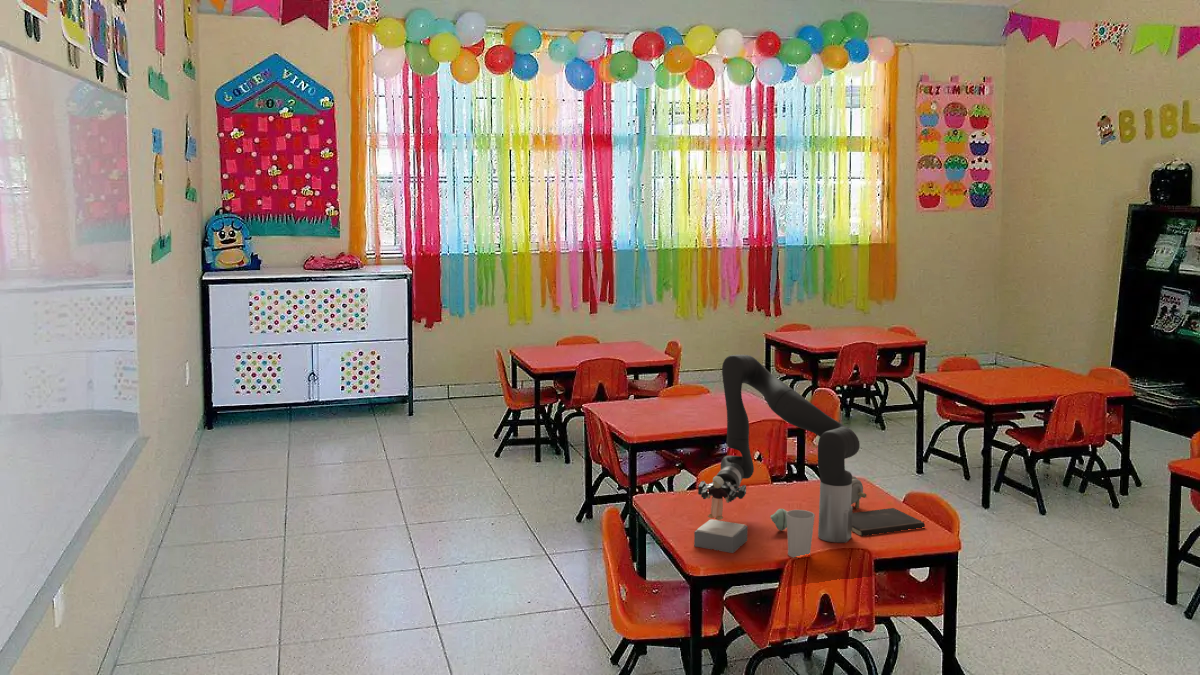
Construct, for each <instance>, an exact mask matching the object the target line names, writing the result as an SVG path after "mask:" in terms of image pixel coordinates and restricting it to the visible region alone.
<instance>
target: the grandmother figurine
mask: <svg viewBox="0 0 1200 675" xmlns="http://www.w3.org/2000/svg"><path fill="white" fill-rule="evenodd" d="M712 482H713V485H714V487H713V488H711V489H710V491H709V492H708V496H707V498H706V499H709V500H710V499H711V507H710V513H709V514H708V515H707V517H708V518H709V519H713V518H714V520H719V521H722V520H723V519H724V516H723V510H724V503H723V499H725V503H728V504H729V503H730V502H729V497H728V494H727V493H726V492H725V491H724V490H723V489H722V488H720V487H721V486H722V485H723V484H724V481H723V479H722V478H721V477H720V476H716V475H715V476H714V477H713V478H712ZM711 495H712V496H711Z"/></svg>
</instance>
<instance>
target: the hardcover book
mask: <svg viewBox="0 0 1200 675" xmlns="http://www.w3.org/2000/svg"><path fill="white" fill-rule="evenodd" d="M922 527H925V528H926V525H925V522H924V521H921V520H920V519H918V518H916V517H913V516H911V515H910V514H907V513H905V512H903V511H901V510H899V509H897V508H895V507H889V508H883V509H873V510H866V511H865V510H864V511H857V512H853V513H852V532H853V533H855V534H857V535H858V536H860V535H861V536H860V537H866V536H867V535H869V536H873V535H872V534H877V535H880V534H879V533H884V534H888V533H887V532H892V533H895V532H894V531H900V532H902V531H901V530H908V529H915V530H917V529H916V528H922ZM908 531H909V530H908ZM867 537H868V536H867Z"/></svg>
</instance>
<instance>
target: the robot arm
mask: <svg viewBox="0 0 1200 675" xmlns="http://www.w3.org/2000/svg"><path fill="white" fill-rule="evenodd" d="M721 373H722V375H721V376H722V383H723V391H724V392H723V393H724V399H725V407H726V422H727V423H726V446H727V447H728V448H729V449H732V450H737V451H738V452H739V453H740V454H741V456H739V455H725V456H724V457H723V458H721V462H720V470H719V472H718V473H717V474H716V475H715V476H720V477H721V478H722V479H723V481H724V484H723V485H722V486H721V487H720V488H722V489H723V490H724V491H725V492H726V493H727V494H728V498H729V503H732V501H733V502H734V500H736V499H737V498H738V500H739V499H740V500H741V499H744V497H745V495H746V494H747V485H745V484H743V485H741V482H742V480H743V479H744V480H745V479H750V478H751V477H752V476H753V474H754V471H755V470H754V469H755V467H754V462H753V459H752V454H751V450H750V442H749V441H750V440H749V439H750V420H749V416H748V414H747V411H746V408H745V405H744V402H743V397H742V389H743V384H747V385H748V386H750V387H752V388H753V389H755V390H756V391H758V392H759V393H760V394H761V395H762V396H763V397H764V400H765V401H766V403H767V406H768V407H769V408H770V409H771V411H772V412H774V413H775V415H777V416H778V417H780V418H781V419H782V420H784V422H786V423H788V424H789V425H792V426H795V427H797V428H800V429H802V430H805V431H807V432H811V433H813V434H814V435H816V436H818V437H819V439H818V442H817V443H818V444H817V472H818V473H819V477H820V480H819V483H820V484H819V503H818V504H819V505H818V528H817V537H818V538H819V539H820V540H822V541H826V542H830V543H848V542H849V540H850V539H851V538H852V532H853V531H852V513H854V511H853V509H854V508H853V506H852V505H851V492H852V476H853V474H852V473H851V472H850V471H848V470H846V467H845V462H846V461H845V459H848V458H851V457H853V456H855V455H856V454H857V453H858V452H859V450H860V440H859V438H858V436H857V434H856V433H855V432H854V431H853V430H852V429H851V428H849V427H848V426H846V425H844V424H843V423H841V422H840V421H837V420H836V419H835V418H832V417H831V416H829V415H827V414H826V413H825V412H823V411H822V410H821V409H820V408H818V407H817V406H816V405H814V404H813V403H812V402H810V401H809V400H807V399H806V398H805V397H804V396H802V395H801V394H800V393H798V392H797V391H796V390H795V389H793V388H792V387H790V386H789V385H788V384H786V383H785V382H783V381H782V380H780V379H779V378H778V377H776V376H774V374H772V373H771V372H770V371H769V370H768V369H767V368H766V367H765V366H764V365H762V363H761V362H760V361H758V360H757V359H756V358H755V357H753V356H752V355H748V354H731V355H729V356H727V357H726V358H724V360H723V362H722V369H721ZM713 487H714V485H713V481H712V482H710V483H707V482H706V481H705V480H701V481H700V483H698V487H697V488H698V489H697V491H698V492H697V495H700V497H701V498H702V499H703V500H706V499H708V498H707V496H708V492H709V491H710V489H711V488H713ZM710 497H712V495H711V496H710Z"/></svg>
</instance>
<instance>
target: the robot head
mask: <svg viewBox="0 0 1200 675" xmlns="http://www.w3.org/2000/svg"><path fill="white" fill-rule="evenodd" d="M787 512H788V510H786V509H784V508H778V509H777V510H776V511H775V512H774V513H773V514H771V515H770V519H771V521H772V522H773V523H774V525H775V527H776V528H777V530H779V531H785V530H787V518H786V513H787Z"/></svg>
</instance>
